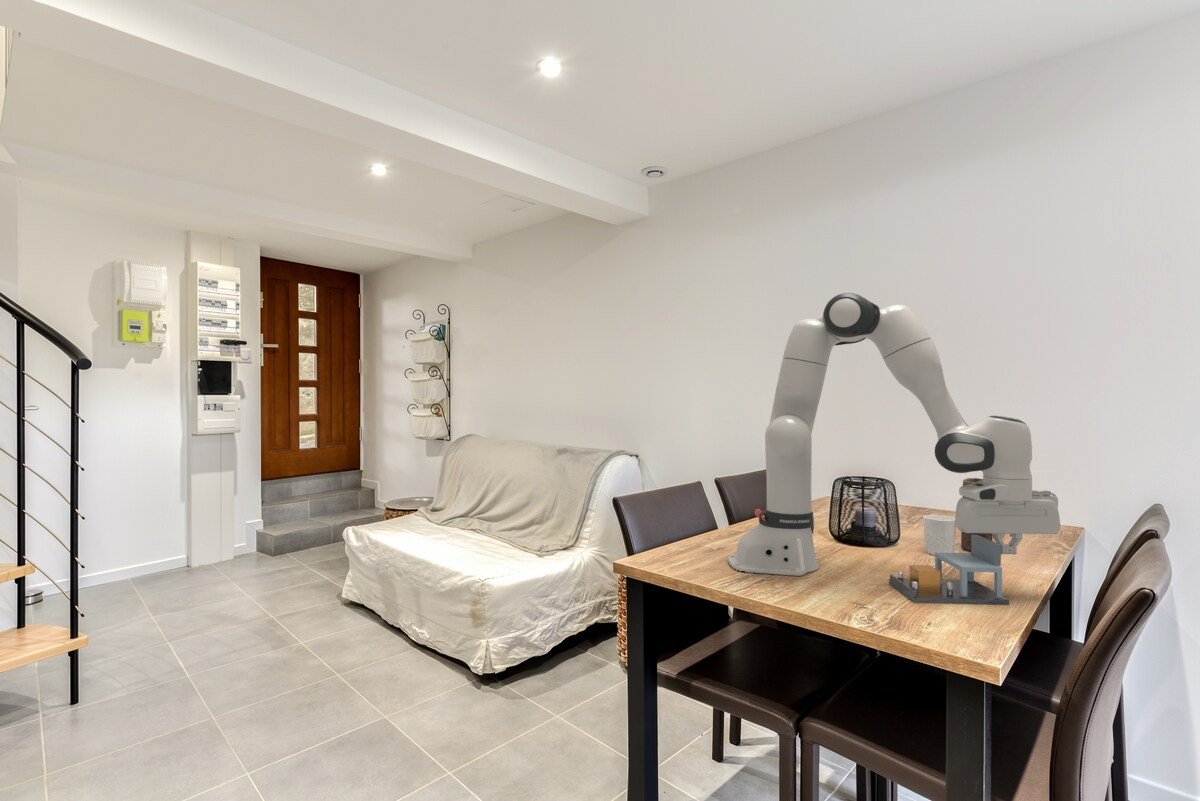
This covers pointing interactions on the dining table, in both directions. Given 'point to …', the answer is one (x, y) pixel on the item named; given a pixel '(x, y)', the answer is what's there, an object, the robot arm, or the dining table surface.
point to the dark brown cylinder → (967, 536)
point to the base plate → (947, 592)
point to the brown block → (925, 578)
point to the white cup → (939, 534)
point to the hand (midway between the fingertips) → (1007, 553)
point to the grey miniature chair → (975, 563)
